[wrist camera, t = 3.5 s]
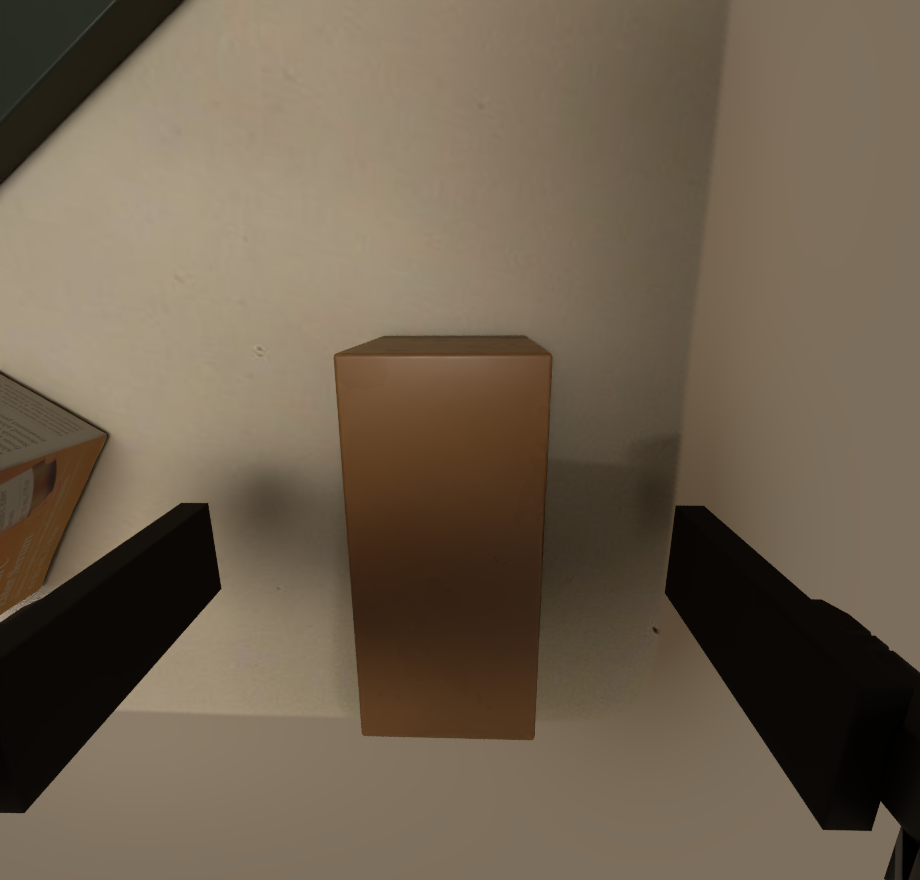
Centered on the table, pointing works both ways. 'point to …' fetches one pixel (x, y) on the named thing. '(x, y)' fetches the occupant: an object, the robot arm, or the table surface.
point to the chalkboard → (60, 60)
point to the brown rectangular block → (445, 530)
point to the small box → (37, 484)
